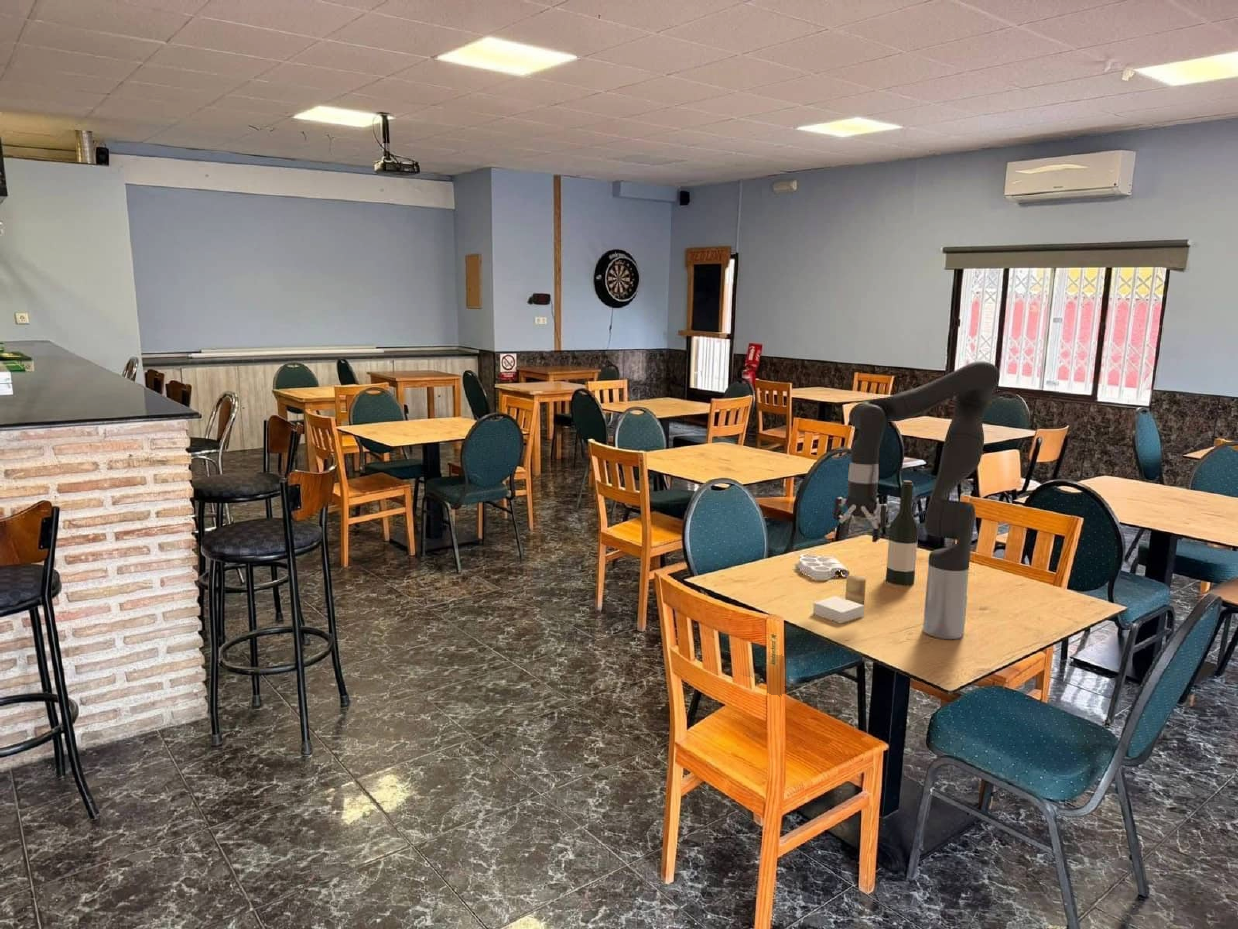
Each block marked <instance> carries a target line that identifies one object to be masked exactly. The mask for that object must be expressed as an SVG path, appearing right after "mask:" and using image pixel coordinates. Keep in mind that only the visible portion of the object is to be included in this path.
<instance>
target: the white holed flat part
mask: <svg viewBox="0 0 1238 929" xmlns="http://www.w3.org/2000/svg"><path fill="white" fill-rule="evenodd" d="M793 565H794V566H795V567H797V568H798V572H803V573H804V574H806V575H805V576H807V575H810V576H811V577H810V579H811V578H814V579H817V580H816V581H818V580H827V581H830V580H832V578H839V577H838V576H837V575H838V574H837V573H836V572H838V570H840V572H842V574H843V575H845V577H844V578H847V577H848V576H850V573H851V572H850V570H849V569H847V568H846V567H845V565H844V564H842V563H841V562H840V561H839V560H838V559H836V558H835V557H832V556H821V555H817V554H814V553H813V554H812V553H803V554H799V556H798V562H797V563H794V564H793ZM799 569H800V570H799ZM835 573H836V574H837V575H836V574H835ZM804 574H803V575H804ZM834 576H835V577H834ZM831 577H832V578H831ZM829 579H830V580H829Z"/></svg>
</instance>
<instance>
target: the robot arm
mask: <svg viewBox="0 0 1238 929" xmlns="http://www.w3.org/2000/svg"><path fill="white" fill-rule="evenodd" d="M1000 377H1001V374H1000V371H999V369H998V367H997V366H996V365H995V364H993V363H991V362H989V361H985V360H976V361H973V362H970V363H967V364H966V365H964V366H962V367H960V368H958V369H956V370H954V371H952V372H949V373H948V374H946V375H944V376H942V377H939V378H936V379H935V380H933V381H930V382H927V383H925V384H923V385H920V386H918V387H915V388H912V389H908V390H906V391H902V392H898V393H895V394H893V395H891V396H886V397H879V398H875V399H869V400H865V401H862V402H859V403H857V404H855V405H854V406H853V407H851V410H850V411H849V414H848V419H849V422H850V425H852V426H853V427H854V428H855V429H858V436H857V439H855V440H854V441H853V442H852V443H851V448H850V463H849V466H848V467H849V469H848V474H847V477H848V479H847V497H846V498H843V497H842V496H839V497H838V496H837V498H835V500H834V507H833V514H832V515H833V516H832V518H833V520H835V521H838V522H839V535H840V537H842V538H844V537H847V535H848V524H849V523H848V520H849V519H850V518H852V516H853V517H856V518H858V517H859V518H862V519H867V520H868V522H870V524H871V525H872V527H873V529H872V540H871V541H872V543H877V542H878V541H879V540H880V539H881V530H882V529H883V528H885V527H887V526H889V512H890V511H889V506H890V505H889V504H888V503H881V504H880V503H878V501H877V497H878V489H879V488H878V486H879V474H880V473H879V456H880V446H881V443H882V440H883V437H884V433H885V430H886V422H900V421H901V422H902V421H904V420H909V419H911V418H914V417H916V416H917V417H918V416H920V415H922V414H925V413H927V412H929V411H930V410H932V409H934V408H935V407H936V406H938V405H940V404H941V403H943V402H945V401H947V400H948V399H950V398H952V397H954V396H955V399H954V410H953V416H952V418H951V421H950V424H949V426H948V429H947V431H946V434H945V439H944V443H943V447H942V451H941V456H940V460H939V461H940V462H939V466H938V471H937V476H936V480H935V483H934V486H933V489H932V493H931V496H930V499H929V502H928V505H927V508H926V513H925V518H924V530H925V533H926V534H927V535H929V536H932V537H935V538H942V539H943V538H944V539H949V540H956V543H954V544H952V545H950V546H948V547H943V548H937V549H934V550H931V551H930V553H929V555H928V561H927V562H928V565H927V578H926V588H925V599H924V601H925V602H924V611H923V613H924V614H923V622H922V631H923V633H924V634H926V635H929V636H931V637H933V638H936V639H943V640H957V639H960V638H962V637H963V636H964V633H965V624H966V614H967V613H966V612H967V605H968V596H967V593H968V584H969V573H970V572H969V570H970V561H971V560H970V559H971V550H972V541H973V535H974V528H975V521H976V508H975V506H974V504H973V503H971V502H967V501H959V500H952V499H948V498H949V497H950V495H951V493H952V491H954V489H955V488H956V487H957V486H958V485H959V484H960V483H962V482H963V481H964V480H965V479H966V478H968V477H969V476H970V475H971V474H972V473H973V472H975V470H976V469H977V468H978V467H979V465H980V464H981V460H982V455H983V449H984V445H985V432H984V428H983V421H984V416H985V413H986V411H987V407H988V405H989V402H990V401H991V399H992V397H993V395H994V392H995V391H996V388H997V386H998V385H999V381H1000ZM844 505H845V506H846V508H847V510H846V512H845V513H844V514H843V515H842V510H843V506H844ZM877 510H878V512H879V513H880V519H879V517H878V515H877V513H876V512H875V511H877Z"/></svg>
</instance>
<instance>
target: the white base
mask: <svg viewBox="0 0 1238 929" xmlns="http://www.w3.org/2000/svg"><path fill="white" fill-rule="evenodd" d="M864 611H865V604H864V605H861V604H858V603H855V602H852V601H850V600H847V599H845V598H844V597H840V596H837V595H834V596H831V597H827V598H824V599H821V600H818V601H815V602H813V611H812V614H813V613H815V614H814V615H816V614H817V615H816V616H818V615H819V616H818V617H821V616H823V617H822V618H824V617H825V618H824V619H826V620H829V619H832V620H834V621H833V622H835V621H837V622H836V623H838V624H840V623H843V624H845V623H844V622H846V623H848V622H850V621H849V620H851V621H853V620H852V619H854V620H857V619H860V618H862V616H863V617H864ZM859 617H860V618H859ZM856 618H857V619H856ZM832 620H831V621H832ZM847 621H848V622H847Z"/></svg>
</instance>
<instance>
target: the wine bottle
mask: <svg viewBox="0 0 1238 929" xmlns="http://www.w3.org/2000/svg"><path fill="white" fill-rule="evenodd" d="M913 494H914V483H913V481H912V480H908V479H907V480H906V479H905V480H903V482H902V483H901V488H900V499H899V500H900V502H899V512H898V513H897V514H896V516H895V517H894V518H893V520H892V521H891V523H890V525H889V532H888V533H889V534H888V546H887V547H888V548H887V559H886V562H887V563H886V573H885V582H887V583H890V584H893V585H896V586H903V587H906V586H913V585H914V583H915V577H916V564H917V553H918V552H917V551H918V539H919V528H920V527H919V524H918V523H917V521H916V519H915V517H914V515H913V513H912V506H913V505H912V504H913V496H914V495H913Z"/></svg>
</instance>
